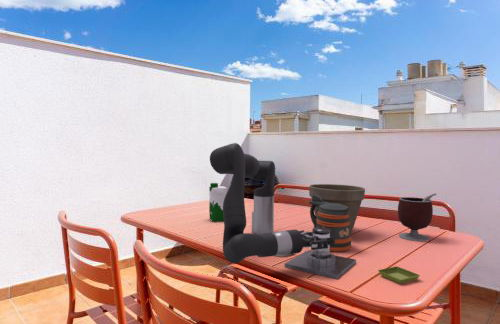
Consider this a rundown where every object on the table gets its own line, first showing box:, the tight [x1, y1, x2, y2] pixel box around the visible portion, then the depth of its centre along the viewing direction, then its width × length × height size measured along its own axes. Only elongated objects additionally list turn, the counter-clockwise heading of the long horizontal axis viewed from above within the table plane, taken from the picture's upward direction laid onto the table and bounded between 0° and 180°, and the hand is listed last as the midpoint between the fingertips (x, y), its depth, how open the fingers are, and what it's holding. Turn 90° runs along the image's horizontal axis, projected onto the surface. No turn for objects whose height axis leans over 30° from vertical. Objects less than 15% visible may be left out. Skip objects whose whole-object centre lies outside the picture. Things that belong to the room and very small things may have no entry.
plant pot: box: [308, 183, 366, 236], centre depth 160 cm, size 25×25×22 cm
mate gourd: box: [397, 192, 437, 242], centre depth 153 cm, size 16×14×20 cm
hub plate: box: [284, 249, 357, 280], centre depth 117 cm, size 18×18×3 cm
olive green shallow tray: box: [377, 266, 421, 285], centre depth 106 cm, size 9×9×2 cm
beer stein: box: [308, 194, 352, 253], centre depth 139 cm, size 19×15×20 cm
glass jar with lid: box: [312, 227, 331, 259], centre depth 116 cm, size 6×6×11 cm
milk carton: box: [208, 182, 228, 223], centre depth 185 cm, size 9×9×20 cm
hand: (326, 237), depth 117 cm, fingers open, 8 cm apart
